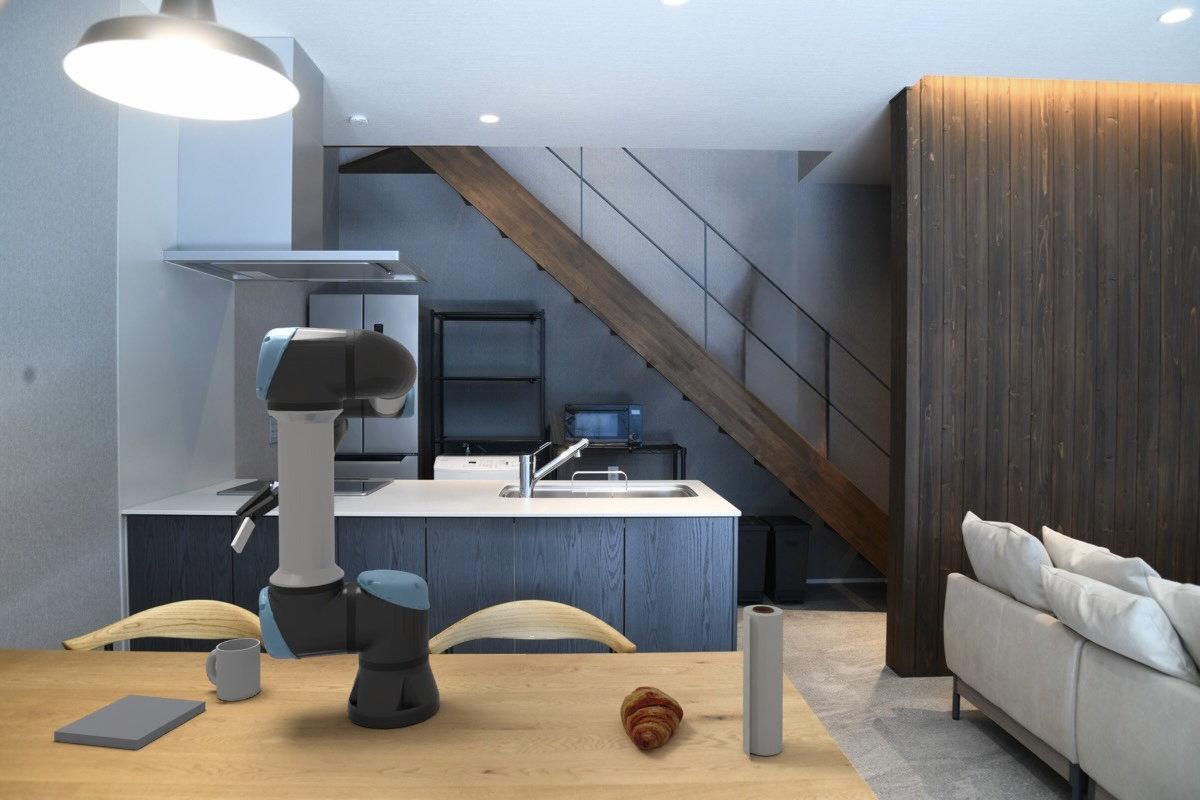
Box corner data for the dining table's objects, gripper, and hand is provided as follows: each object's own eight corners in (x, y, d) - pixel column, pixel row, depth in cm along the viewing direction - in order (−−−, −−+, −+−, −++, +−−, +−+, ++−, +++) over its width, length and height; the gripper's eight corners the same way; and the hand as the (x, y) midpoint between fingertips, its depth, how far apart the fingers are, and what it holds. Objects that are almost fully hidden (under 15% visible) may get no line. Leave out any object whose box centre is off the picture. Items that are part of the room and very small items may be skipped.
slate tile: (205, 710, 134) (205, 701, 134) (137, 750, 120) (137, 740, 120) (129, 703, 137) (129, 694, 137) (54, 741, 123) (54, 731, 123)
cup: (244, 703, 137) (243, 652, 137) (193, 699, 139) (192, 648, 139) (269, 687, 145) (268, 639, 144) (220, 683, 146) (219, 636, 146)
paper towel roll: (768, 736, 124) (769, 601, 124) (790, 753, 119) (791, 612, 118) (728, 743, 122) (729, 606, 122) (748, 761, 116) (749, 617, 116)
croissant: (636, 721, 139) (615, 680, 139) (687, 696, 138) (666, 655, 138) (629, 778, 117) (605, 730, 118) (690, 749, 117) (664, 700, 117)
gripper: (370, 477, 167) (333, 564, 152) (264, 474, 172) (219, 558, 157) (358, 454, 161) (318, 542, 147) (249, 452, 166) (200, 536, 152)
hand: (267, 550), depth 152 cm, fingers open, 13 cm apart
